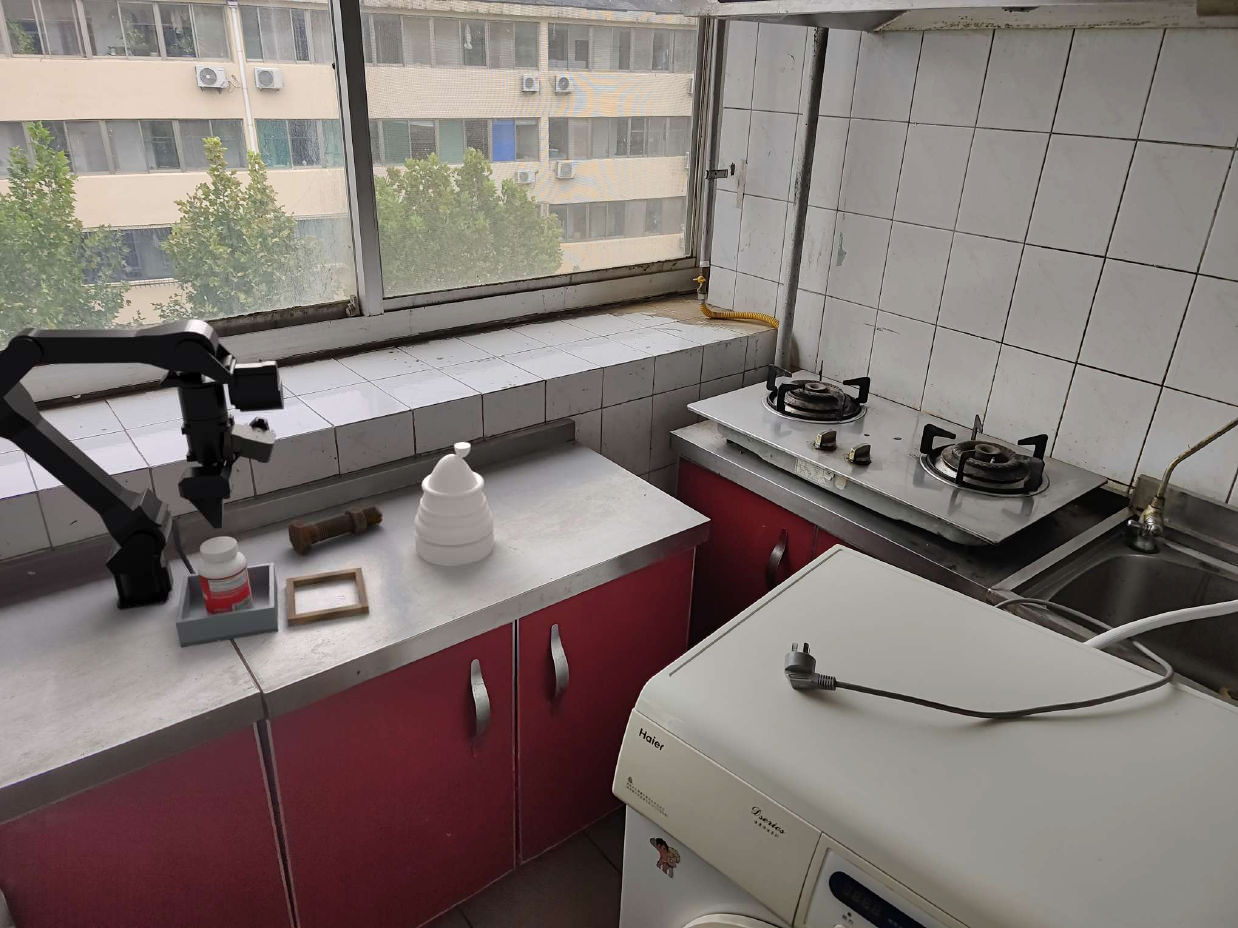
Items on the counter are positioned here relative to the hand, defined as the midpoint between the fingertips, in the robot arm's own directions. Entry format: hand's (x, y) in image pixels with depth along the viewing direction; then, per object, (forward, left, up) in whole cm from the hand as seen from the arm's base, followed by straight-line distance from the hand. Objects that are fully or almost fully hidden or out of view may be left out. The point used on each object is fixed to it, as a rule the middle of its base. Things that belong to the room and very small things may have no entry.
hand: (222, 512), depth 121 cm
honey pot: (+34, +2, -12) cm, 36 cm away
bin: (0, -8, -12) cm, 15 cm away
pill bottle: (0, -9, -12) cm, 15 cm away
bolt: (+16, +10, -13) cm, 23 cm away
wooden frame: (+13, -8, -12) cm, 20 cm away
